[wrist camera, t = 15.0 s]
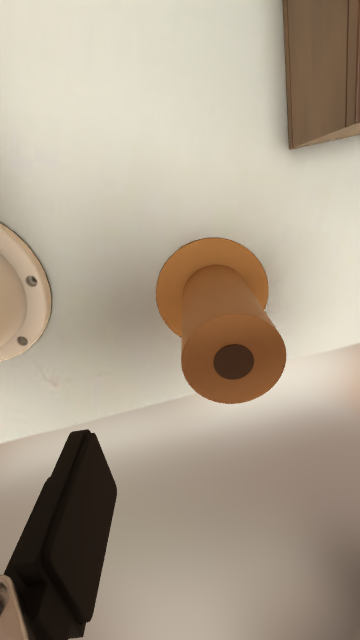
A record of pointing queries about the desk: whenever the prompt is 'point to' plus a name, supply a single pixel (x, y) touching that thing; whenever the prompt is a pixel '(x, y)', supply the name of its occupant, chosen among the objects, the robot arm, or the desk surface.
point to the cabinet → (322, 70)
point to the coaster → (197, 258)
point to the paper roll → (228, 338)
